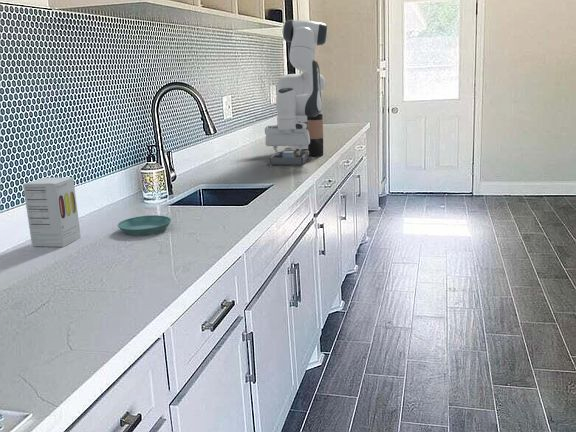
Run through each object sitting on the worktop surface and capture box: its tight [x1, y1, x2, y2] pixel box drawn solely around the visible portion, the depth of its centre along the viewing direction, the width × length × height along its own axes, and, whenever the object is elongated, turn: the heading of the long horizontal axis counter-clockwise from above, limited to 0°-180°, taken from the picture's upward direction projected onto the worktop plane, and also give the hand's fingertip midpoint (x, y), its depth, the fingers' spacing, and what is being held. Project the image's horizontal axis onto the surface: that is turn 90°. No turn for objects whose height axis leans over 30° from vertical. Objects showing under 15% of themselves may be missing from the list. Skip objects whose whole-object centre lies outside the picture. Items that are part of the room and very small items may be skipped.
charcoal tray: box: [269, 150, 309, 167], centre depth 271 cm, size 19×15×4 cm
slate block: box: [282, 150, 294, 158], centre depth 267 cm, size 4×4×4 cm
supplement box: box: [22, 176, 82, 248], centre depth 155 cm, size 10×9×17 cm
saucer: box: [116, 214, 172, 236], centre depth 165 cm, size 15×15×3 cm
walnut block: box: [284, 148, 297, 157], centre depth 274 cm, size 4×4×4 cm
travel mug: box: [307, 113, 324, 158], centre depth 285 cm, size 8×8×20 cm
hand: (288, 155), depth 267 cm, fingers open, 8 cm apart
